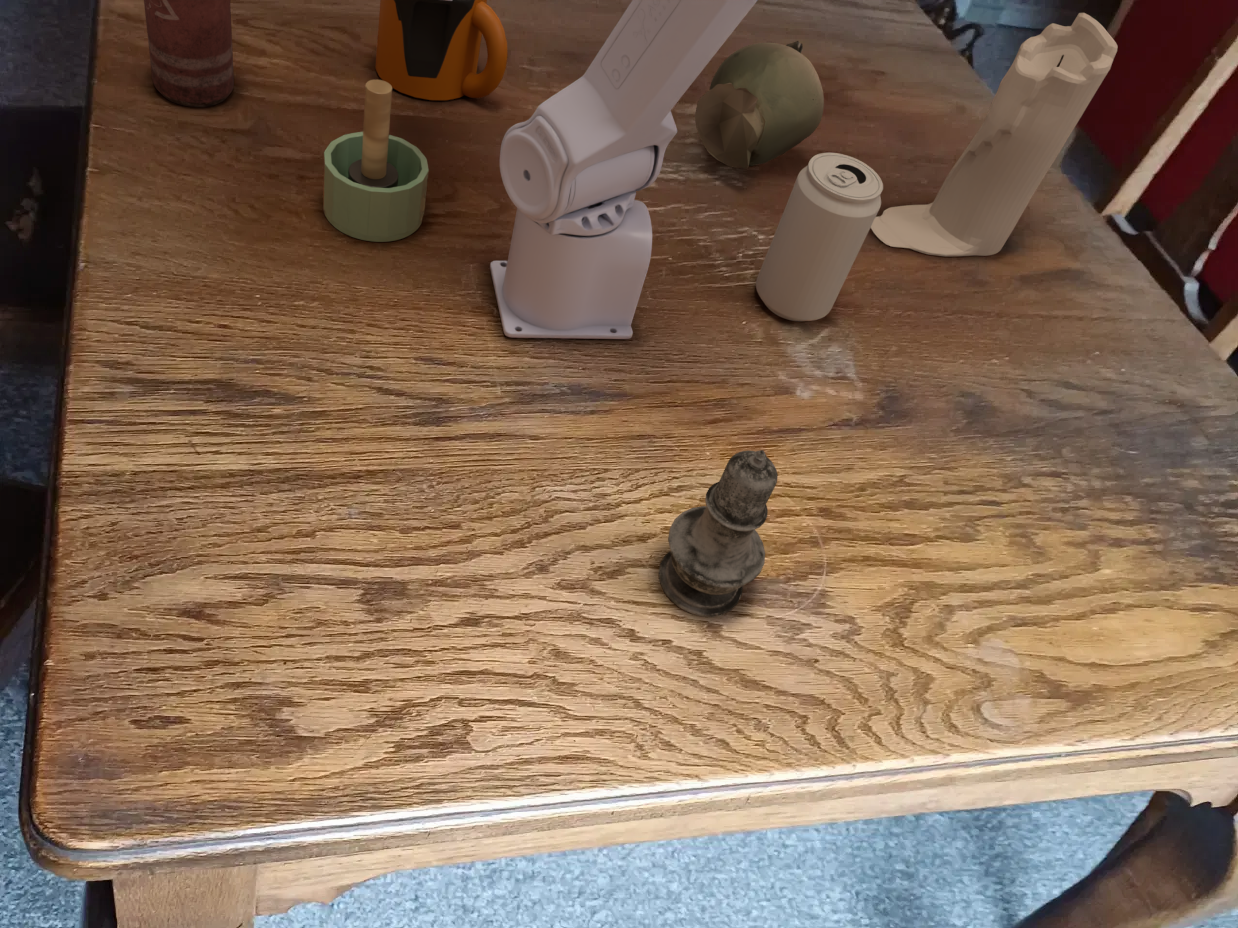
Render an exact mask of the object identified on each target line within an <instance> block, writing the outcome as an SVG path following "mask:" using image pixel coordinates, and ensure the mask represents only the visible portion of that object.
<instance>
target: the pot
mask: <svg viewBox="0 0 1238 928" xmlns="http://www.w3.org/2000/svg"><path fill="white" fill-rule="evenodd" d="M362 144H363V131H357V132H351V133H345V134H343V135H341V136H339V137H337V138H335V139H333V140H331V141H330V143H329V144H328V145H327V147H326V149H325V150H324V151H323V173H322V175H323V176H322V179H323V180H322V202H323V203H322V204H323V205H322V210H323V213H324V216H325V218H326V220H327V221H328V222H329V224H331V225H332V226H333V227H334V228H335V229H336V230H338V231H339V232H341V233H342V234H345V235H347V236H349V237H351V238H354V239H357V240H362V241H367V242H372V243H374V242H375V243H386V242H387V243H388V242H394V241H398V240H401V239H405V238H408V237H410V236H411V235H412V234H413V233H415V232H416V231H417V230H418V229H419V228H420V227H421V225H422V223H423V220H424V216H425V209H426V200H427V190H428V181H429V172H430V169H429V164H428V159H427V157H426V156H425V154H424V153H423V152H422V151H421V150H420V148H419V147H417V146H416V145H414V144H412V143H410V142H409V141H408V140H405V139H404V138H402V137H398V136H396V135H393V134H392V135H391V134H389V141H388V155H387V162H388V163H390V164H391V165H392V166H394V167H395V168H396V170H397V172H398V187H393V188H377V187H369V186H365V185H362V184H358V183H355V182H352V181H351V180H349V179H348V170H349V167H350V165H351V164H352V163H353V162H355V161H357V160H360V159H362Z"/></svg>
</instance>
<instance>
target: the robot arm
mask: <svg viewBox="0 0 1238 928" xmlns="http://www.w3.org/2000/svg"><path fill="white" fill-rule="evenodd" d="M474 1H475V0H394V2H395V5H396V10H397V15H398V19H399V21H401V23H402V33H403V47H404V57H405V63H406V69H407V73H408V75H409V76H413V77H425V78H437V76H438V74H439V72H440V69H441V67H442V64H443V61H444V59H445V56H446V53H447V50H448V47H449V44H450V42H451V39H452V37H453V35H454V33H455V31H456V29H457V27H458V25H459V24H460V22H461V21H462V19H463V18H464V17H465V16H466V14H467V13H468V12H469V11H470V10H471V9H472V7H473V4H474ZM758 1H759V0H631V1H630V3H629V5H627V8H626V9H625V11H624V12H623V13H622V16H621V17H620V19H619V20H618V21H617V23H616V25H615V26H614V28H613V29H612V31H611V32H610V34H609V35H608V37H607V38H606V40H605V41H604V43H603V44H602V45H601V47H600V49H599V51H598V52H597V54H596V55H595V57H594V58H593V60H592V61H591V63H590V64H589V66H588V67H587V69H586V70H585V72H584V73H583V74H582V76H580V77H579V78H578V79H576V80H575V81H573V82H572V83H570V84H568V85H567V86H565V87H564V88H562V89H560V90H559V91H558V92H556V93H555V94H553V95H552V96H550V97H549V98H547V99H546V100H544V101H543V102H541V103H540V104H539V105H538V106H537V107H536V109H535V111H534V112H533V114H532V115H531V116H530V117H529V118H528V119H527V120H524V121H521V122H518V123H515V124H513V125H512V126H510V127H509V128H508V129H507V130H506V132H505V133H504V135H503V138H502V141H501V145H500V148H499V152H500V153H499V172H500V177H501V180H502V184H503V187H504V190H505V192H506V194H507V197H509V199H510V201H511V202H512V204H513V205H514V206H515V207H516V212H515V217H514V223H513V229H512V233H511V234H512V235H511V240H510V245H509V251H508V257H507V260H493V261H491V262H490V264H489V270H490V275H491V279H492V285H493V289H494V293H495V298H496V301H497V306H498V312H499V316H500V321H501V326H502V331H503V334H504V335H505V336H506V337H508V338H512V339H513V338H518V339H519V338H521V339H581V340H582V339H583V340H584V339H585V340H587V339H589V340H590V339H591V340H593V339H594V340H599V339H600V340H630V339H632V337H633V334H634V332H633V327H632V324H633V321H634V320H633V319H634V316H635V313H636V310H637V307H638V303H639V300H640V297H641V294H642V290H643V287H644V284H645V280H646V278H647V273H648V270H649V267H650V263H651V258H652V249H653V226H652V219H651V215H650V212H649V208H648V207H647V205H646V204H645V202H644V201H642V200H637V199H636V196H637V192H640V191H642V190H645V189H648V188H649V187H651V186H652V185H653V184H654V183H655V182H656V180H657V179H658V178H659V176H660V173H661V170H662V168H663V163H664V157H665V154H666V150H667V148H668V146H669V144H670V143H671V141H672V140H673V139H674V137H675V136H676V135H677V134H678V128H677V125H676V122H675V119H674V116H673V113H672V110H673V108H674V107H675V106H676V105H677V103H678V102H679V101H680V100H681V98H682V97H683V96H684V95H685V93H686V92H687V91H688V89H689V88H690V86H692V84H693V83H694V82H695V80H696V79H697V78H698V76H699V75H700V74H701V73H702V71H704V69H705V68H706V67H707V65H709V63H710V61H712V59H713V57H714V56H715V55H716V54H717V53H718V51H719V50H720V49H721V47H722V46H723V45H724V44H725V42H726V41H727V40H728V38H730V36H731V35H732V34H733V32H734V31H735V30H736V28H737V27H738V26H739V25H740V24H741V22H742V21H743V20H744V18H745V17H746V16H747V15H748V14H749V12H750V11H751V10H752V8H753V7H754V6H755V5H756V3H757V2H758Z"/></svg>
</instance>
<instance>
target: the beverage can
mask: <svg viewBox="0 0 1238 928" xmlns="http://www.w3.org/2000/svg"><path fill="white" fill-rule="evenodd" d="M883 190H884V183H883V181H882V178H881V177H880V175H879V174H878V173H877V171H875V170H874V169H873V168H872V167H871V166H870V165H868V164H866V163H865V162H863V161H862V160H860V159H857V158H855V157H853V156H850V155H847V154H843V153H839V152H822V153H818V154H815V155H813V157H811V158H810V159H809V162H808V164H807V165H806V166H804V167H803V168H802V169H801V170H800V171H799V172H798V174H797V177H796V179H795V182H794V185H793V187H792V190H791V192H790V195H789V197H788V200H787V202H786V204H785V208H784V209H783V212H782V215H781V217H780V219H779V221H778V224H777V227H776V229H775V231H774V235H773V236H772V240H771V242H770V244H769V247H768V250H767V252H766V255H765V257H764V260H763V262H762V265H761V267H760V270H759V272H758V275H757V277H756V280H755V288H756V292H757V295H758V296H759V298H760V299H761V301H762V302H763V304H764V305H765V306H766V308H767V309H768V310H769V311H770V312H771V313H773V314H775V315H776V316H778V317H780V318H782V319H785V320H789V321H791V322H810V321H811V322H813V321H817V320H820V319H822V318H825V317H826V316H827V315H829V313H830V312H831V310H832V309H833V307H834V305H835V302H836V300H837V298H838V296H839V294H840V292H841V291H842V288H843V286H844V283H845V282H846V280H847V277H848V275H849V273H850V271H851V270H852V267H853V265H854V263H855V261H856V259H857V257H858V254H859V252H860V250H861V248H862V246H863V244H864V242H865V240H866V238H867V236H868V234H869V232H870V229H871V225H872V223H873V221H874V219H875V217H877V215H878V213H879V211H880V208H881V205H882V199H881V194H882V192H883Z"/></svg>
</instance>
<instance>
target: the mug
mask: <svg viewBox="0 0 1238 928" xmlns="http://www.w3.org/2000/svg"><path fill="white" fill-rule="evenodd" d="M378 13H379V14H378V29H377V40H376V41H377V42H376V55H375V67H374V68H375V71H376V73H377V75H378V77H379V79H380V80H383V81H386V82H388V83H389V84H390V85H391V86H392V89H394V90H396V91H398V92H399V93H401V94H404V95H407V96H410V97H413V98H416V99H423V100H429V101H449V100H454V99H455V100H456V99H460V98H462V97H468V98H470V99H481V98H485V97H487V96H489V95H490V94H492V93H493V92H494V91H495V90H496V89H497V88H498V87H499V86H500V83H501V82H502V80H503V78H504V75H505V72H506V69H507V63H508V54H509V53H508V40H507V36H506V31H505V28H504V26H503V24H502V21H501V19H500V18H499V17H498V15H497V13H496V12H495V11H494V9H493V8H492V7H491V6H490V5H489V4H488V0H475V1H474V4H473V7H472V9H471V10H470V11H469V12H468V13H467V14H466V16H465V17H464V18H463V19H462V21H461V22H460V24H459V25H458V27H457V29H456V31H455V33H454V35H453V37H452V39H451V42H450V44H449V47H448V50H447V53H446V56H445V59H444V61H443V64H442V67H441V69H440V72H439V74H438V76H437V78H425V77H413V76H409V75H408V73H407V69H406V63H405V57H404V47H403V33H402V23H401V21H399V19H398V15H397V10H396V5H395V2H394V0H380V1H379V11H378ZM482 37H483V39H484V41H485V45H486V54H487V57H486V63H485V66H484V68H483V70H482V71H481V72H479V73H478V72H477V71H478V64H479V59H480V58H479V57H480V50H481V43H482Z"/></svg>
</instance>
